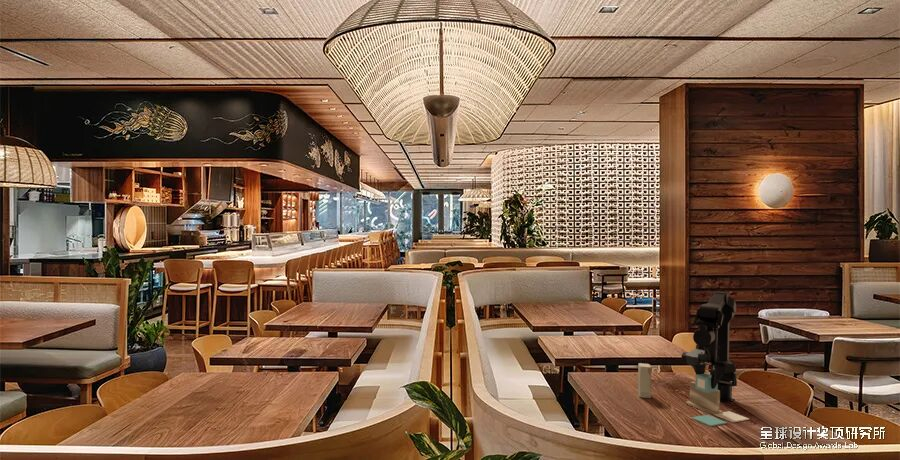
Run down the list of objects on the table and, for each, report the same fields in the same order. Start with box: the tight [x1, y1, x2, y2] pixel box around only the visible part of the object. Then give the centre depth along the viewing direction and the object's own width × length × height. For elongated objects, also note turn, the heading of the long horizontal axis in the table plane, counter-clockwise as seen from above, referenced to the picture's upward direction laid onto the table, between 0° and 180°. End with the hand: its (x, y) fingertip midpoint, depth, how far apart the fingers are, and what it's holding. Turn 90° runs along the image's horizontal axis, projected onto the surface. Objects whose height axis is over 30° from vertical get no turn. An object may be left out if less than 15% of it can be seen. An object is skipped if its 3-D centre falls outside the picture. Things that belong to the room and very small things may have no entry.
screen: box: [685, 381, 724, 416], centre depth 205 cm, size 4×13×8 cm, turn 24°
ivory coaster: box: [713, 410, 750, 423], centre depth 197 cm, size 8×8×1 cm
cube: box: [695, 372, 718, 393], centre depth 194 cm, size 5×5×5 cm
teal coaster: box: [691, 414, 728, 427], centre depth 193 cm, size 8×8×1 cm
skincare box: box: [637, 362, 652, 399], centre depth 220 cm, size 6×4×12 cm
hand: (706, 386), depth 194 cm, fingers closed on cube, 5 cm apart
